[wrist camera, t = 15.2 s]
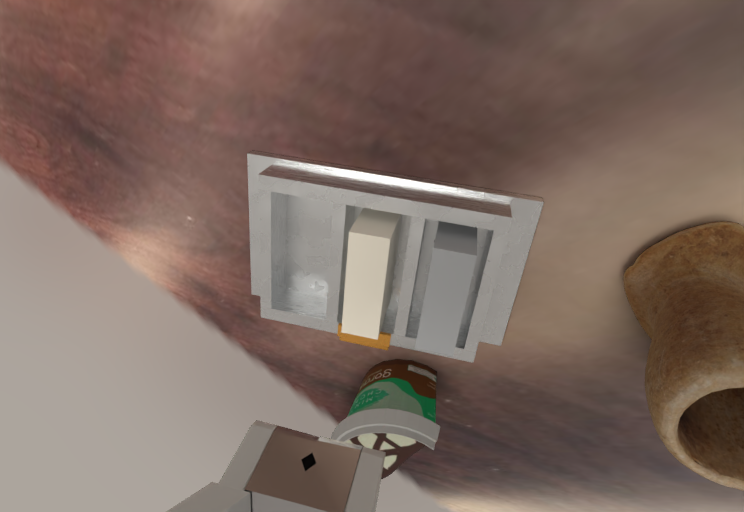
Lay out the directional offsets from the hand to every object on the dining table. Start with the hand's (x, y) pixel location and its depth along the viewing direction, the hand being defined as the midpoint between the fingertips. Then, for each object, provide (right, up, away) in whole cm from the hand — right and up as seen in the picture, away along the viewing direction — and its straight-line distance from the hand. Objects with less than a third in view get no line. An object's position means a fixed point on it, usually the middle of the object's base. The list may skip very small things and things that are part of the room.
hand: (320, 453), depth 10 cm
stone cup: (+27, 0, +27) cm, 39 cm away
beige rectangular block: (+2, +5, +30) cm, 30 cm away
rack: (+2, +5, +30) cm, 31 cm away
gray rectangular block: (+8, +3, +29) cm, 30 cm away
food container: (+3, -8, +38) cm, 39 cm away
